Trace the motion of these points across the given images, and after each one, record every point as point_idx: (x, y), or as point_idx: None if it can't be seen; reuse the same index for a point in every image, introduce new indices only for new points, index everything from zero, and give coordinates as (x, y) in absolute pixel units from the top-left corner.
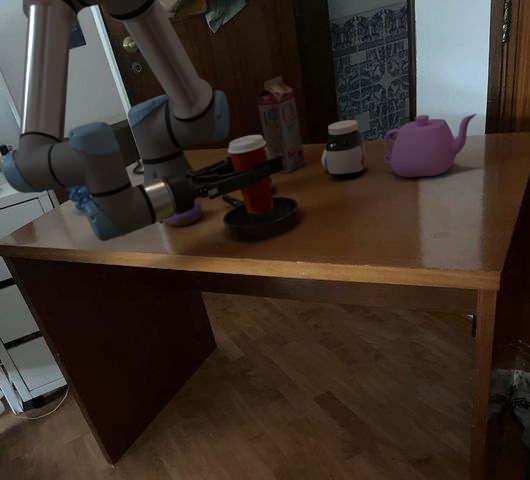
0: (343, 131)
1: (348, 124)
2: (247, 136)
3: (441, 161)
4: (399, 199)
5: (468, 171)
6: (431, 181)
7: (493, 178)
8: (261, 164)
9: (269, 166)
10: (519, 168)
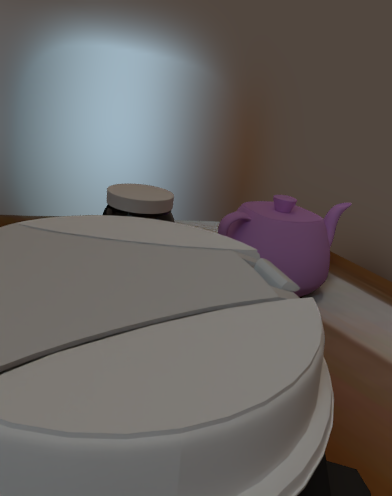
0: (161, 208)
1: (158, 193)
2: (60, 223)
3: (327, 272)
4: (354, 364)
5: (329, 282)
6: (318, 306)
7: (385, 296)
8: (327, 491)
9: (355, 474)
10: (375, 277)
